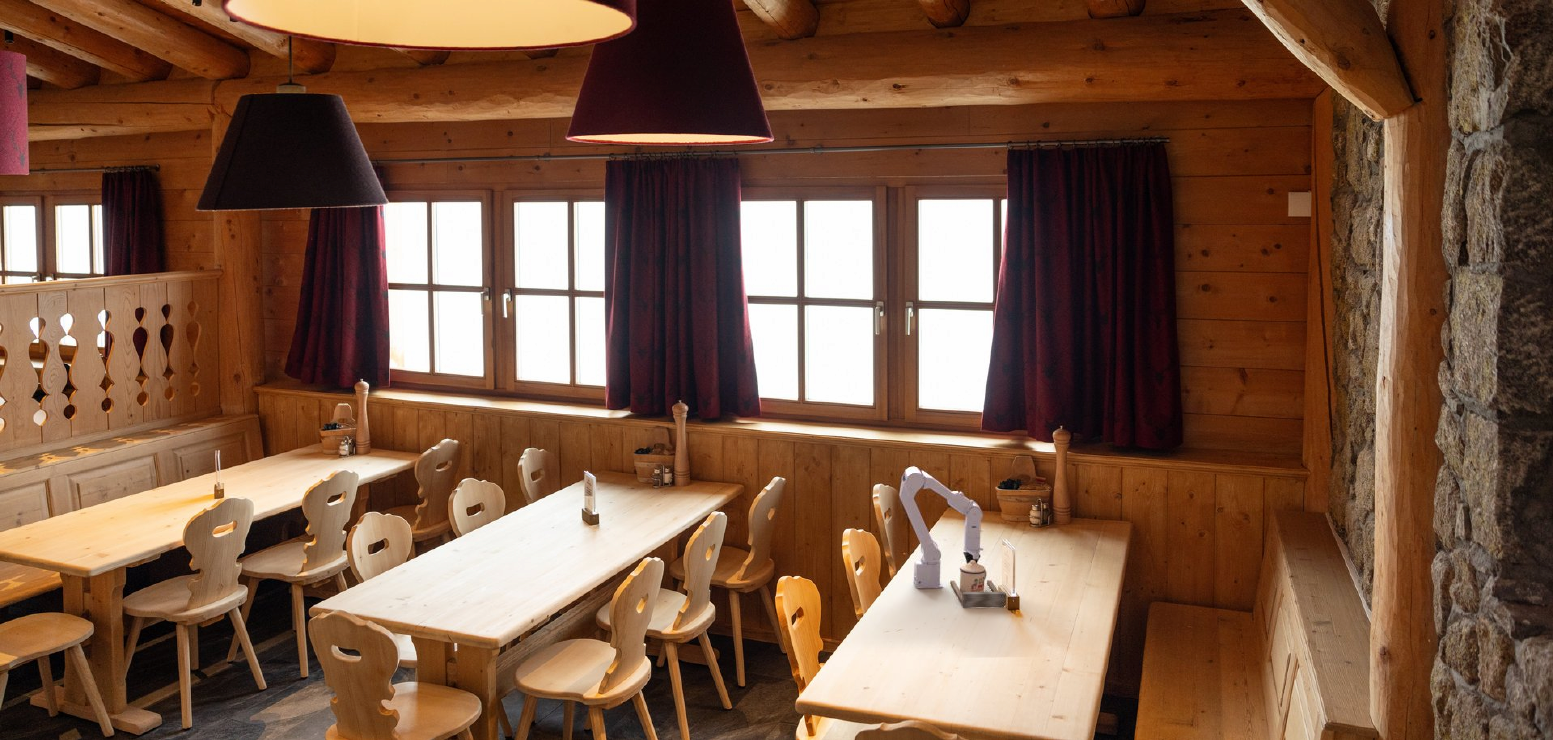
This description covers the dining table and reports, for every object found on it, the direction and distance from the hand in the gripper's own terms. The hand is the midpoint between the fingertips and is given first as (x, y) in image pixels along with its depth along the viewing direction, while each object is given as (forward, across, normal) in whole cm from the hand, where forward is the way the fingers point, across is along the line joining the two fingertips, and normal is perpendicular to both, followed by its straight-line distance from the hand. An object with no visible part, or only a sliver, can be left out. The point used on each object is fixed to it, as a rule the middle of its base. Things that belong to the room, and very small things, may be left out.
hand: (971, 572), depth 434 cm
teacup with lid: (+5, -6, 0) cm, 8 cm away
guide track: (+5, -10, 0) cm, 11 cm away
